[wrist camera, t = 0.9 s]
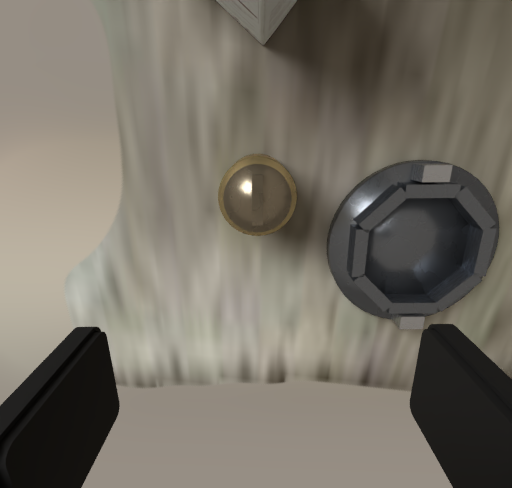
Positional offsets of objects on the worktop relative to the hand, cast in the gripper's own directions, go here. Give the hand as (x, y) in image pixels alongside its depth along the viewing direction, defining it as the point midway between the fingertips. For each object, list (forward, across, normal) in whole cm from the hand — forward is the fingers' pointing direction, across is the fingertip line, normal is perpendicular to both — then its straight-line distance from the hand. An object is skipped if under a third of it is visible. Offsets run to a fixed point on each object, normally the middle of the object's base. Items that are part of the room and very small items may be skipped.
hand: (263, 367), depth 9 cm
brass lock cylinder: (+18, 0, -3) cm, 19 cm away
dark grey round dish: (+18, -13, +2) cm, 22 cm away
